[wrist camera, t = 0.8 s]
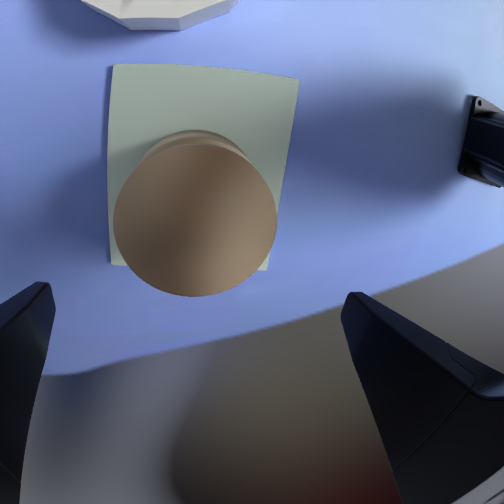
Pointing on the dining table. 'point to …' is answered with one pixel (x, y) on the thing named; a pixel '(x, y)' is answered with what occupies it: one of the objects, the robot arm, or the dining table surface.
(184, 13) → the bowl
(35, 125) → the dining table surface
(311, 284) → the dining table surface
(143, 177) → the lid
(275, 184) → the mat
